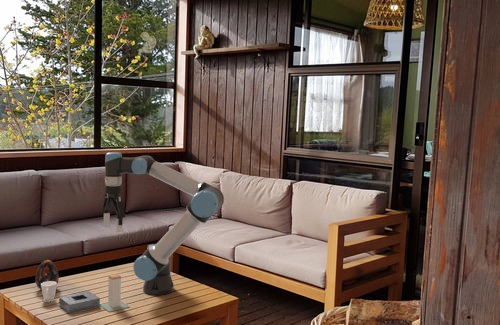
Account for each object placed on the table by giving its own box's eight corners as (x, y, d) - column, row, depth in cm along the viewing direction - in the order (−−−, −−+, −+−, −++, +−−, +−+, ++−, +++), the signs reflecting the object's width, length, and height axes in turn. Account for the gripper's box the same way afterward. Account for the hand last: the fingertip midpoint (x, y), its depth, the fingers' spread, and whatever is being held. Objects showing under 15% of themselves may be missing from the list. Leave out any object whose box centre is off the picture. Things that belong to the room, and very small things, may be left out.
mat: (119, 300, 243) (119, 300, 243) (129, 307, 235) (129, 306, 235) (99, 305, 236) (99, 304, 236) (109, 312, 229) (109, 311, 229)
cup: (57, 297, 245) (57, 280, 244) (55, 304, 235) (55, 287, 235) (42, 298, 243) (41, 281, 243) (38, 305, 234) (38, 288, 233)
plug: (116, 303, 238) (116, 273, 237) (120, 305, 235) (120, 276, 234) (108, 305, 236) (108, 275, 234) (112, 307, 233) (112, 277, 231)
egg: (48, 284, 262) (48, 255, 260) (63, 288, 257) (63, 259, 255) (30, 290, 252) (30, 260, 251) (45, 294, 247) (45, 264, 246)
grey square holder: (88, 299, 244) (88, 290, 243) (99, 306, 235) (99, 298, 234) (59, 305, 235) (59, 296, 234) (69, 313, 226) (69, 304, 225)
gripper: (94, 182, 251) (94, 225, 253) (118, 189, 233) (117, 235, 235) (108, 181, 256) (108, 223, 258) (133, 187, 237) (132, 233, 239)
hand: (112, 229), depth 246 cm, fingers open, 13 cm apart
